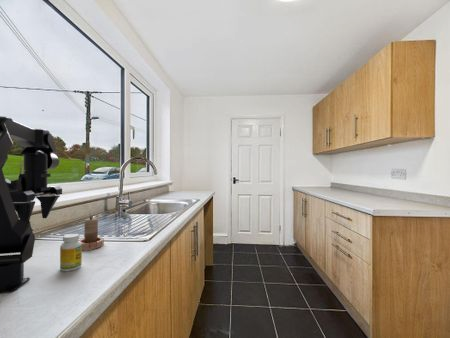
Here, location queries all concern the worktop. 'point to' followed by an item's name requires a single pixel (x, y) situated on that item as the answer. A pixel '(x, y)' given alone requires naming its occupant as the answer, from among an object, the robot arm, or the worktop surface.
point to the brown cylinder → (90, 229)
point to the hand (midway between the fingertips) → (35, 221)
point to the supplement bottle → (70, 253)
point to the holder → (92, 244)
